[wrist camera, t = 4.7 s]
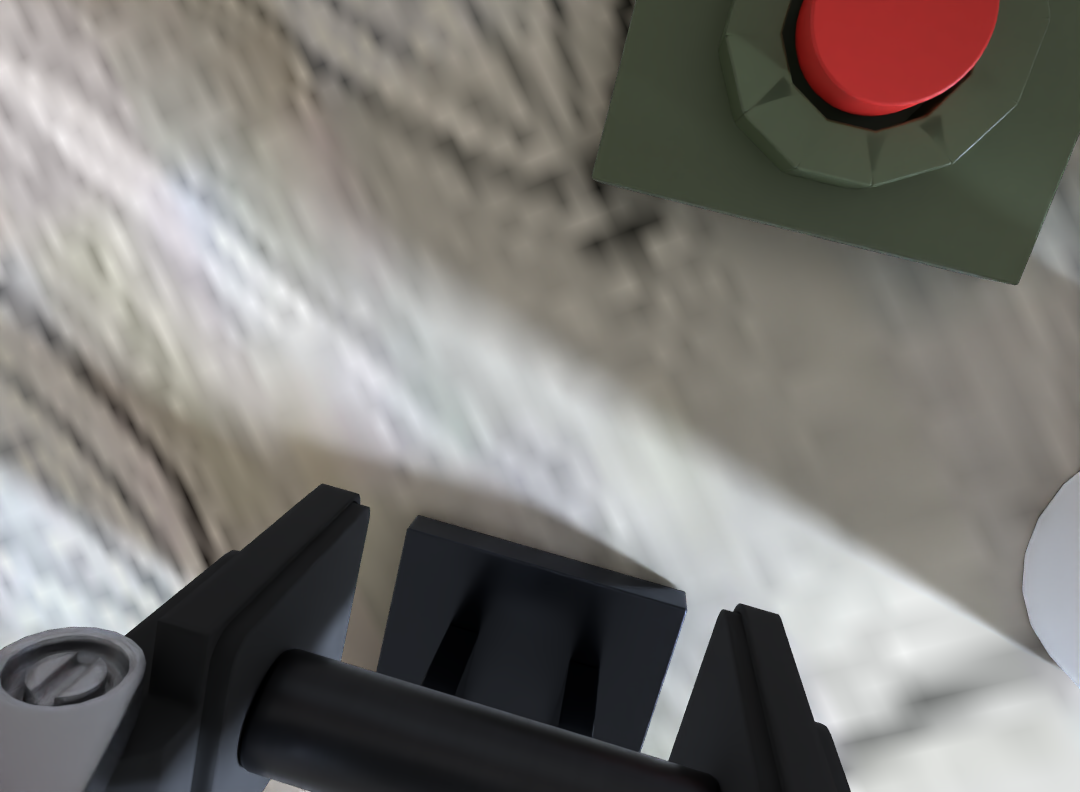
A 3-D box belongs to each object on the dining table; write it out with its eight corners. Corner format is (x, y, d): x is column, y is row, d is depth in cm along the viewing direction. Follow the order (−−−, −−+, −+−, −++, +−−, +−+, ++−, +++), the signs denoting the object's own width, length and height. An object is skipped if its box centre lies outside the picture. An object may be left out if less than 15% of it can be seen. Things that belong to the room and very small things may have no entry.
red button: (992, -40, 16) (1031, -68, 15) (929, 133, 17) (960, 125, 16) (825, -77, 17) (845, -109, 15) (773, 95, 18) (786, 83, 16)
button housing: (1122, -79, 19) (1243, -153, 15) (982, 278, 21) (1056, 293, 17) (686, -173, 20) (695, -266, 16) (596, 181, 22) (585, 175, 18)
